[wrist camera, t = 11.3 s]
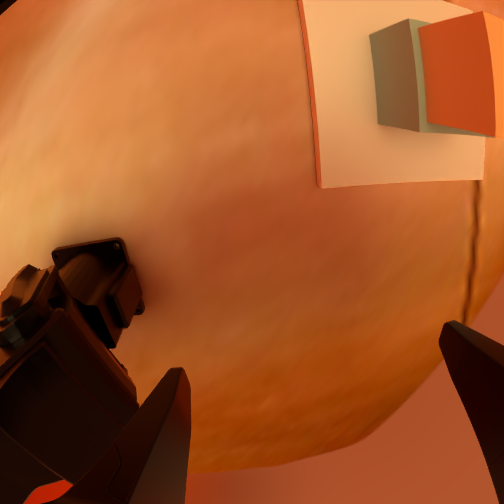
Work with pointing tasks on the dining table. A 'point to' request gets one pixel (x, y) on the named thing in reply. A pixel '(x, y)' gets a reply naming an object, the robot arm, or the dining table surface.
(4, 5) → the dark piece
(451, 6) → the base plate
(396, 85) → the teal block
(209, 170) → the dining table surface
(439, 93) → the orange block
